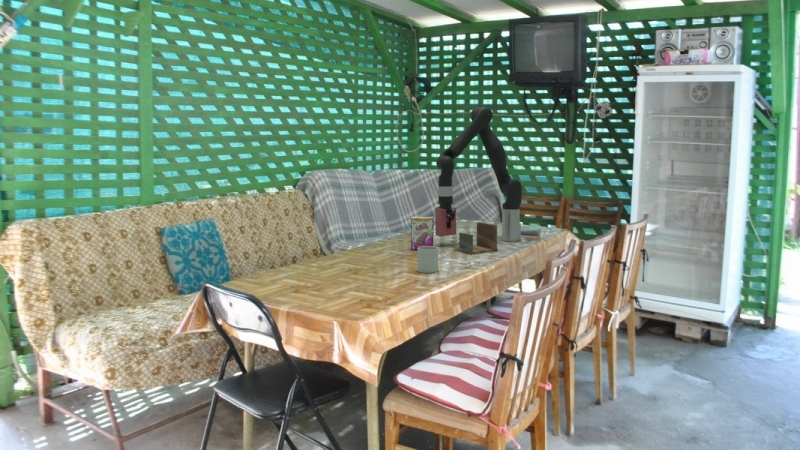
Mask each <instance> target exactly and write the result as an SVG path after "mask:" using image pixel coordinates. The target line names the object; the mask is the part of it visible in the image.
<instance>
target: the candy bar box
mask: <svg viewBox="0 0 800 450" xmlns="http://www.w3.org/2000/svg"><path fill="white" fill-rule="evenodd" d="M434 218H435V217H433V216H412V217H411V219H410V220H411V221H410V222H411V225H410V228H411V230H410V232H411V235H410V238H411V239H410V249H411V250H412V251H417V248H418V247H422V246H434V245H435V244H434V240H435V239H434V238H435V237H434V232H435V231H434V224H435V222H434V221H435V220H434ZM434 247H435V246H434Z"/></svg>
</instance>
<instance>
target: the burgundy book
mask: <svg viewBox="0 0 800 450" xmlns="http://www.w3.org/2000/svg"><path fill="white" fill-rule="evenodd" d="M451 207H452V209H455V216H454V220H452V221H451V228H449V229H448V228H447V217H446V212H447V209H444V208H437V209H436V208H435V209H434V212H435V213H434V214H435V215H434V216H435V217H434V218H435V220H434V221H435V222H434V224H435V236H437V237H447V236H455V235H457V207H453V206H451ZM447 215H450V214H447ZM448 218H449V217H448ZM451 218H452V217H451Z"/></svg>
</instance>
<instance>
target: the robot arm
mask: <svg viewBox="0 0 800 450" xmlns="http://www.w3.org/2000/svg"><path fill="white" fill-rule="evenodd" d="M493 118H494V114H493V111H492V109H491V108H490V107H487V106H477V107H474V108H473V109H472V110H471V112H470V119H471V123H470V125H469V126H467V128H465V129H464V130H463V131H462V132H460V134H458V136H456V137H455V139H454V140H453V141H452V143H451V144H450V145H449V146H448V148H446V149H445V150H444V151H443V152H442V153H441V154H440V155H439V156H438V157H437V160H436V162H435V163H436V166H437V168H438V169H440V170H441V171H440V175H439V176H438V189H437V195H438V196H437V200H438V201H437V202H438V203H437V204H438V205H439V206H438V207H435V209H437V208H444V209H447V212H446V217H447V228H448V229H449V228H451V221H452V220H454V216H455V209H452V207H453V206H452V204H453V203H454V196H453V195H454V194H453V193H454V190H453V175H454V170H455V162H454V160H455V159H456V158H458V157H459V156H461V154H462V153H463V152H464V151H465V149H466V148H467V147H468V145H469V144H470V143H471V142H472V141H473V140H474V138H475V137H476V136H477V135H479V138H480V139H481V143H482V145H483V147H484V148H483V149H485V153H486V155H487V157H488V160H489V162H490V164H491V168H492V170H493V171H494V174H495V176H496V179H497V184H498V188H499V189H500V192H501V193H502V195H504V196H506V200H505V202H503V203H502V207H501V210H502V212H501V216H502V217H501V218H502V219H501V241H503V242H518V241H521V236H522V234H521V232H522V231H521V230H522V223H521V222H520V215H521V214H520V213H521V212H520V209H521V208H520V207H521V203H522V200H523V199H522V198H523V185H522V182H521V181H520V180H519V179H515V178H511V175H510V173H509V171H508V168H507V153H506V150H505V148H504V146H503V143H502V142H501V140H500V139H499V138H498V137H497V135H496V133H494V131H493V130H492V128H491V126H490V123H491V121H492V120H493ZM447 214H450V215H447ZM448 217H449V218H448ZM451 217H452V218H451Z"/></svg>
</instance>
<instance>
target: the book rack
mask: <svg viewBox="0 0 800 450" xmlns="http://www.w3.org/2000/svg"><path fill="white" fill-rule="evenodd" d="M458 240H459V241H458V244H459V245H458V247H455V248H454V249H453V250H454V252H457V251H458V253H461V252H462V254H465V253H466V255H469V256H470V255H471V256H472V254H473V255H479V253H480V254H486V253H494V252H498V225H497V224H492V223H487V222H482V221H479V222H476V245H474V235H473V234H470V233H464V232H458Z"/></svg>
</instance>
